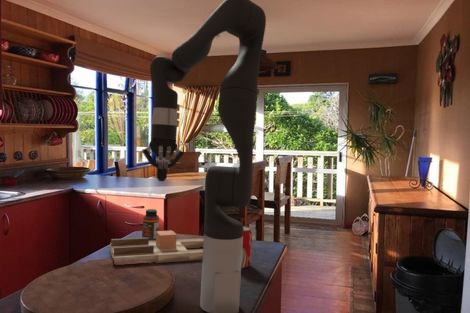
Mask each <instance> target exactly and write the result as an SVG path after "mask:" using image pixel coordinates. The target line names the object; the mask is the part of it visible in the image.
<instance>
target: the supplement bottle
mask: <svg viewBox="0 0 470 313" xmlns="http://www.w3.org/2000/svg"><path fill="white" fill-rule="evenodd" d="M159 226H160V217H159V215H158V210H157V209H155V208H154V209H153V208H149V209H146V210H145V215H143V217H142V227H141V228H142V229H141V238H149V241H156V231H160V230H159V228H160V227H159Z"/></svg>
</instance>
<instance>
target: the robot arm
mask: <svg viewBox="0 0 470 313" xmlns="http://www.w3.org/2000/svg"><path fill="white" fill-rule="evenodd" d="M266 18H267V16H266V13H265V10H264V9H263V8H262V7H261V6H259V5H258V4H257V3H255V2H253V1H252V0H223V1H222V2H221V3H220V4H219V6H218V7H216V9H214V11H213V12H212V13H211V14H210V15H209V17H208V18H207V19H206V20H205V21H204V22H203V23H202V25H200V27H199V28H198V29H197V31H195V32H194V34H192V35H191V36H190V37H189V38H188V39H186V40H185V41H184V42H183V43H181V44H180V45H178V46H177V47H176V48H175V49H174V50H173V51H172V54H171V58H170V57H167V56H163V55H157V56H155V57H154V58H153V59H152V61H151V62H150V65H149V75H150V79H151V83H152V90H153V94H154V95H153V96H154V97H153V99H154V100H153V111H152V118H151V131H150V132H151V135H150V136H151V137H150V142H149V143H148V146H147V147H145V148H143V149H141V152H142V154H143V156H144V157H145V158H146V160H147V162H148V163H149V164H150V165H151V166H152V167H155V168H156V175H155V177H156V180H158V182H165V180H167V177H168V176H167V175H168V169H169V168H173V167H174V166H175V165H176V164H177V162H178V161H179V160H180V159H181V158H182V156H183V155H184V154H185V153H184V151H183V150H180V149H179V147H178V143H177V132H178V99H179V98H178V97H179V95H178V92H177V91H176V90H174V89H172V88H171V87H170V86H169V84H168V83H172V84H175V83H180V82H182V81H183V80H184V79H185V78H186V76H187V75H188V74H189V72H190V71H191V69H192V68H194V67H195V66H197V65H198V64H200V63H202V62H203V61H204V60H205V59H206V57H207V56H209V53H210V51H211V48H212V44H213V41H214V39H215V38H216V37H217V36H219V35H220V34H222V33H224V32H226V33H227V34H229V35H231V36H234V37H236V38H238V40H239V45H238V46H239V47H238V55H237V59H236V61H235V63H234V65H232V67H231V68H230V69H229V71H228V72H227V73H226V74H225V76H224V77H223V79H222V81H221V84H220V85H219V86H220V87H219V92H218V93H219V96H218V105H217V112H218V116H219V119H220V121H221V122H222V124H223V126H224V127H225V129H226V132H227V133H228V135H229V137H230V139H231V140H232V143H233V145H234V148H235V149H236V154H237V156H238V161H239V166H238V167H237V166H223V165H211V166H210V167H209V168H208V169H207V171H206V173H205V179H204V180H205V181H204V223H203V224H204V225H203V238H204V242H203V248H202V249H203V260H201V277H200V279H201V280H200V281H201V282H200V300H199V302H200V304H199V306H200V308H201V310H203V311H205V312H206V313H239V311H240V310H239V309H240V297H241V296H240V294H241V277H242V274H241V272H242V268H241V261H242V245H243V226H244V225H243V223H242V222H241V221H239V220H237V219H235V218H234V217H232V216H229V215H227V213H225V212H223V211H222V209H221V208H220V207H231V208H232V207H234V208H247V207H248V206H249V205H250V202H251V199H252V193H253V168H254V167H253V164H254V162H253V161H254V159H253V158H254V156H253V155H254V134H255V125H256V114H257V105H258V104H257V102H258V86H259V85H258V84H259V83H258V82H259V75H260V74H259V73H260V72H259V71H260V62H261V57H262V56H261V54H262V49H263V43H264V37H265V32H266V25H267V24H266V23H267V19H266ZM152 153H153V155H154V157H155V159H154V158H153V157H152V155H151V154H152ZM173 154H174V156H173V157H172V155H173ZM171 157H172V158H171ZM170 158H171V159H170Z"/></svg>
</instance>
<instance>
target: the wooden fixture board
mask: <svg viewBox="0 0 470 313" xmlns="http://www.w3.org/2000/svg"><path fill="white" fill-rule="evenodd" d="M203 242H204V237H202V238H182V239H176V248H168V249H159V248H158V247H157V245H156V241H149V238H142V237H134V238H133V237H129V238H111V240H110V243H109V251H110V254H111V259H112V258H113V259H127V260H145V261H151V262H156V263H155V264H159V263H174V262H175V263H176V262H188V261H190V262H191V261H202V260H203V248H200V247H203ZM113 259H112V260H113Z"/></svg>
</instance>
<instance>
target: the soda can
mask: <svg viewBox="0 0 470 313" xmlns="http://www.w3.org/2000/svg"><path fill="white" fill-rule="evenodd" d="M251 230H252V229H251V227H250V226H248V225H247V226H246V225H243V245H242V261H241V269H245V267H246V268H247V267H249V266H250V265H251V260H252V250H253V248H252V247H253V233H252V231H251Z"/></svg>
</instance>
